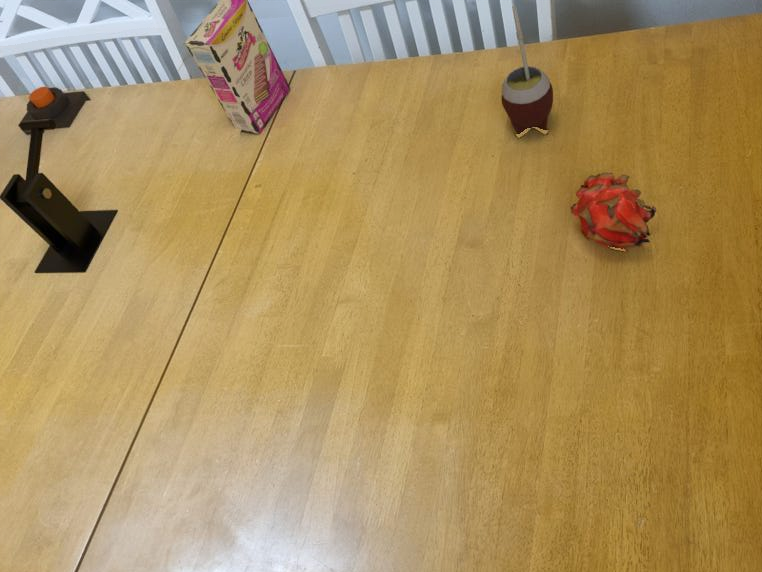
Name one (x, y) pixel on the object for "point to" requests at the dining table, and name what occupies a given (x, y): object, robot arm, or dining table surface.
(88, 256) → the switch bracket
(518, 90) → the mate gourd
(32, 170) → the switch lever
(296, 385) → the dining table surface
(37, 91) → the power button
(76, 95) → the button box
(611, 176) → the dragon fruit
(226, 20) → the candy bar box
